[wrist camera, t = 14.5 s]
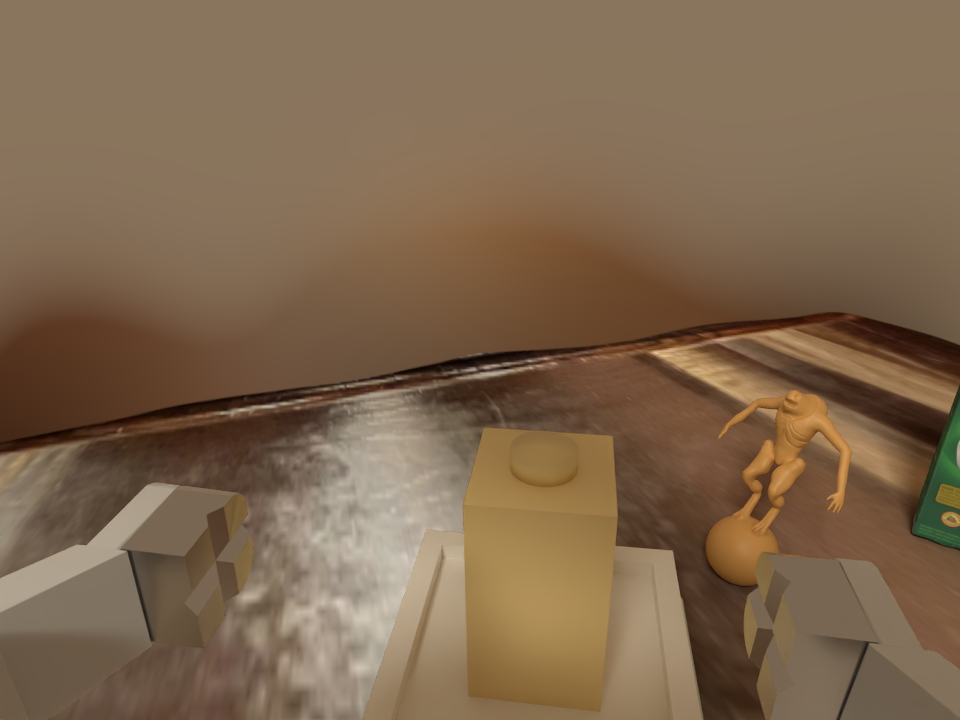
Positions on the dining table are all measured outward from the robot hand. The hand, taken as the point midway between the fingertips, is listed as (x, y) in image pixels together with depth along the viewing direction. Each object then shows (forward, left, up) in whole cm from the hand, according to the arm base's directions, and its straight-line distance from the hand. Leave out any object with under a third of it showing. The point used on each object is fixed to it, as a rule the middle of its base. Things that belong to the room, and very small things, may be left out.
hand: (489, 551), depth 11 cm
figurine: (+12, +25, -21) cm, 35 cm away
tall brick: (0, +12, -15) cm, 19 cm away
